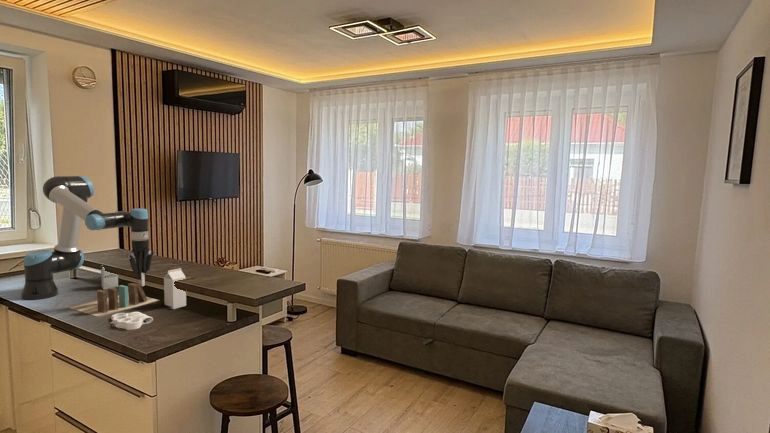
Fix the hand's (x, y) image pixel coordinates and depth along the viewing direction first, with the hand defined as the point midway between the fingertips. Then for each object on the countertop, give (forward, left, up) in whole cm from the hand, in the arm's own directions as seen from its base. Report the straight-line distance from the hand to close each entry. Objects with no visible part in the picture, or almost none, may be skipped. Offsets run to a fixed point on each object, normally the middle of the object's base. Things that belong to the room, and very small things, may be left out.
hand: (141, 285), depth 222 cm
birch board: (-7, -9, -9) cm, 15 cm away
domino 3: (0, -9, -8) cm, 12 cm away
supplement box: (-42, +9, -10) cm, 44 cm away
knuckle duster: (+22, -20, -10) cm, 31 cm away
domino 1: (0, -19, -8) cm, 21 cm away
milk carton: (+18, +6, -10) cm, 21 cm away
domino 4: (0, -4, -8) cm, 9 cm away
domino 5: (0, 0, -8) cm, 8 cm away
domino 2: (0, -14, -8) cm, 17 cm away
